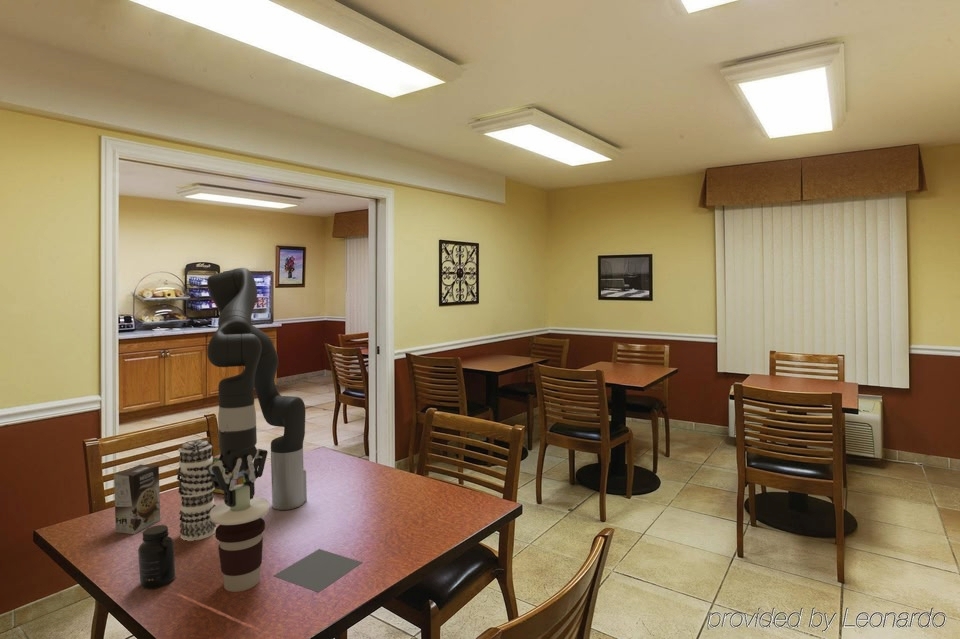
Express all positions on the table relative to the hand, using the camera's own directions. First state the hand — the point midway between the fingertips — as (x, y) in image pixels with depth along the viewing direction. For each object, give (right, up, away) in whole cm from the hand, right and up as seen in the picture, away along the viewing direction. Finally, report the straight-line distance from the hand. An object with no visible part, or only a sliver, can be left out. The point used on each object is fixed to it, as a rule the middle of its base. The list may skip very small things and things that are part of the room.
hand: (239, 502), depth 115 cm
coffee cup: (0, -19, +1) cm, 19 cm away
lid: (0, -2, 0) cm, 2 cm away
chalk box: (-29, -16, +57) cm, 66 cm away
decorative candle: (-23, -18, +26) cm, 39 cm away
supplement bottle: (-20, -19, +2) cm, 27 cm away
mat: (+15, -18, +6) cm, 25 cm away
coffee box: (-42, -18, +30) cm, 55 cm away
